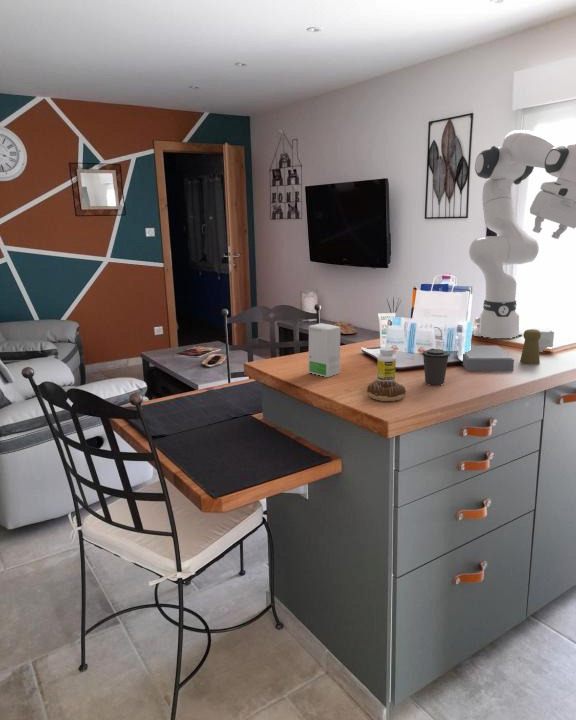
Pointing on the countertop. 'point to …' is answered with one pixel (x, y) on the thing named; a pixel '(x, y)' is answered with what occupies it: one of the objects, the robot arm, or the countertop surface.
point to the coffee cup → (435, 366)
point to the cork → (531, 347)
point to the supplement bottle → (386, 365)
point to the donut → (386, 391)
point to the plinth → (487, 359)
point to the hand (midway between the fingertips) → (545, 235)
